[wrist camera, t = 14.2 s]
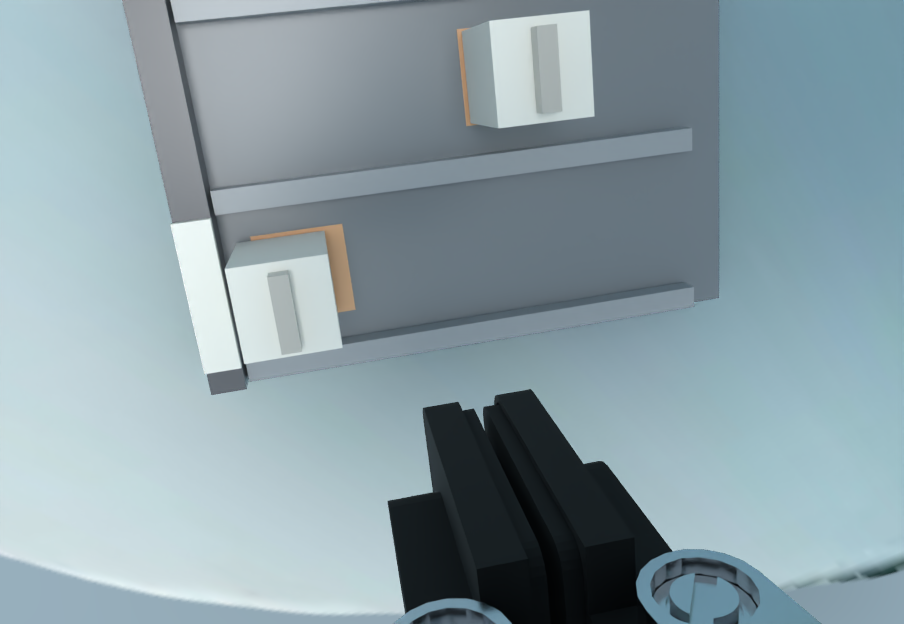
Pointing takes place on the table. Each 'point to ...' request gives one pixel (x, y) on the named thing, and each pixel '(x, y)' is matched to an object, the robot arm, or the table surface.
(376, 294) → the grey compartment tray
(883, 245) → the table surface
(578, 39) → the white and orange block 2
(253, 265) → the pale grey rectangular block
